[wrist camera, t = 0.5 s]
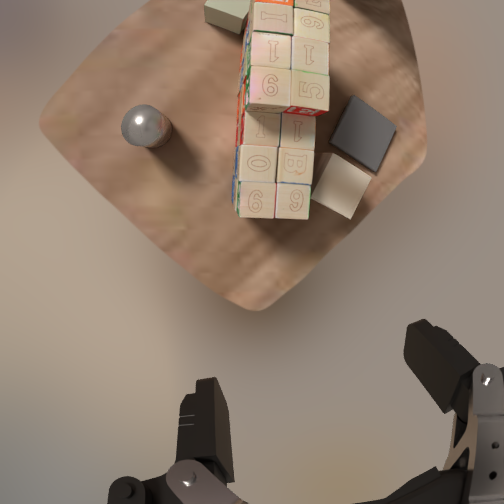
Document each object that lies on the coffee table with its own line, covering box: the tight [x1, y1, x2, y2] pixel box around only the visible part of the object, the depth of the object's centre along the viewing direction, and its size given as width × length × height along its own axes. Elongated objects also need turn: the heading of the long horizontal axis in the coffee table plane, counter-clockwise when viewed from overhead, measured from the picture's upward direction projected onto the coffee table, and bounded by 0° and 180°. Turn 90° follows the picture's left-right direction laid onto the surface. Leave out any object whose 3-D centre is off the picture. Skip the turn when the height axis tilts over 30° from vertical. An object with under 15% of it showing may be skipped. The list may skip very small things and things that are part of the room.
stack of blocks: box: [232, 0, 330, 220], centre depth 24 cm, size 21×6×12 cm, turn 176°
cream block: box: [310, 153, 372, 219], centre depth 30 cm, size 5×5×6 cm
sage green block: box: [204, 0, 251, 35], centre depth 23 cm, size 4×4×4 cm
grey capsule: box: [121, 105, 172, 148], centre depth 26 cm, size 4×4×6 cm
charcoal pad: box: [328, 95, 397, 172], centre depth 31 cm, size 7×7×1 cm
